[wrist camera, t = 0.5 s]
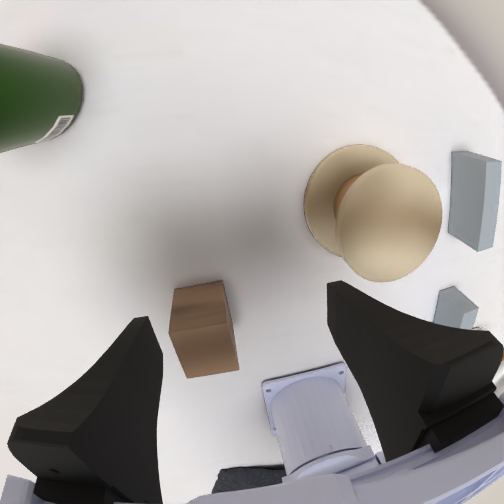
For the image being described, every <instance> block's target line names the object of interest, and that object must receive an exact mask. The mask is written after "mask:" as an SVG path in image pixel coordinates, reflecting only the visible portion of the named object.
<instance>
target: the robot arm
mask: <svg viewBox="0 0 504 504" xmlns="http://www.w3.org/2000/svg"><path fill="white" fill-rule="evenodd" d="M327 324H328V326H329V329H330V332H331V334H332V337H333V339H334V342H335V344H336V346H337V347H338V349H339V351H340V353H341V355H342V356H343V358H344V360H345V362H346V363H347V365H348V367H349V369H350V370H351V372H352V374H353V376H354V378H355V379H356V381H357V383H358V385H359V387H360V389H361V391H362V394H363V396H364V398H365V401H366V403H367V406H368V408H369V411H370V414H371V417H372V419H373V422H374V425H375V428H376V431H377V434H378V437H379V440H380V443H381V446H382V450H383V452H382V451H380V452H378V453H376V454H375V456H374V453H373V451H372V449H371V447H370V445H368V446H367V444H366V442H365V440H364V438H363V435H362V433H361V431H360V429H359V426H358V424H357V422H356V420H355V417H354V415H353V413H352V411H351V409H350V406H349V404H348V402H347V400H346V398H345V395H344V392H345V381H346V368H347V367H346V365H345V364H344V363H339V364H336V365H332V366H329V367H325V368H321V369H317V370H313V371H309V372H305V373H301V374H297V375H293V376H288V377H284V378H279V379H275V380H270V381H266V382H264V383H263V384H262V389H263V394H264V398H265V403H266V408H267V413H268V417H269V422H270V427H271V431H272V434H273V435H277V437H278V441H279V445H280V449H281V454H282V458H283V462H284V466H285V470H286V474H287V476H285V477H282V481H283V483H281V484H276V485H271V486H265V487H259V488H253V489H246V490H239V491H230V492H221V493H214V494H208V495H203V496H199V497H197V498H195V499H193V500H191V501H189V502H188V503H187V504H463V503H464V502H466V501H467V500H469V499H470V498H472V497H473V496H475V495H476V494H478V493H479V492H481V491H482V490H483V489H485V488H486V487H488V486H489V485H491V484H492V483H493V482H494V481H496V480H497V479H499V478H500V477H501V476H503V475H504V392H503V393H502V394H501V395H500V396H499V398H498V397H497V396H496V394H495V393H494V392H495V391H496V389H497V388H496V386H495V385H494V383H493V382H492V381H493V379H494V376H495V374H496V372H497V370H498V368H499V366H500V364H501V361H502V359H503V354H504V348H503V345H502V344H501V343H500V342H499V341H498V340H497V339H496V338H495V337H494V336H493V335H492V334H491V333H490V332H489V331H482V330H469V329H461V328H455V327H449V326H444V325H440V324H436V323H432V322H428V321H425V320H422V319H419V318H416V317H413V316H410V315H408V314H405V313H403V312H400V311H398V310H396V309H394V308H392V307H389V306H387V305H385V304H383V303H381V302H379V301H377V300H376V299H374V298H372V297H370V296H368V295H367V294H365V293H363V292H361V291H360V290H358V289H356V288H354V287H353V286H351V285H349V284H347V283H345V282H344V281H342V280H340V281H336V282H331V283H327ZM340 371H341V372H340ZM162 379H163V353H162V350H161V348H160V345H159V343H158V341H157V338H156V336H155V333H154V330H153V328H152V325H151V323H150V320H149V317H148V316H145V317H139V318H134V319H133V320H132V321H131V322H130V323H129V324H128V326H127V327H126V328H125V329H124V330H123V332H122V333H121V334H120V335H119V336H118V338H117V339H116V340H115V341H114V342H113V344H112V345H111V346H110V347H109V348H108V350H107V351H106V352H105V353H104V354H103V355H102V356H101V357H100V358H99V360H98V361H97V362H96V363H95V364H94V365H93V366H92V367H91V368H90V369H89V370H88V371H87V372H86V373H85V374H84V375H82V376H81V377H80V378H79V379H78V380H77V381H76V382H74V383H73V384H72V385H71V386H69V387H68V388H67V389H65V390H64V391H63V392H61V393H60V394H59V395H57V396H56V397H54V398H53V399H51V400H50V401H48V402H46V403H45V404H43V405H41V406H40V407H38V408H36V409H34V410H32V411H30V412H28V413H26V414H24V415H22V416H20V417H18V418H17V419H16V422H15V424H14V427H13V430H12V432H11V435H10V437H9V440H8V443H7V444H8V448H9V450H10V451H11V453H12V454H13V456H14V457H15V458H16V459H17V460H18V461H19V462H21V463H22V464H23V465H24V466H25V467H26V468H27V469H29V470H30V471H31V472H32V473H33V474H35V475H36V476H37V480H36V483H34V482H32V481H30V480H27V479H23V478H20V477H16V476H12V475H8V476H7V479H6V482H5V486H4V489H3V493H2V497H1V500H0V504H163V502H162V496H161V489H160V481H159V471H158V458H157V417H158V409H159V401H160V394H161V386H162Z"/></svg>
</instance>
